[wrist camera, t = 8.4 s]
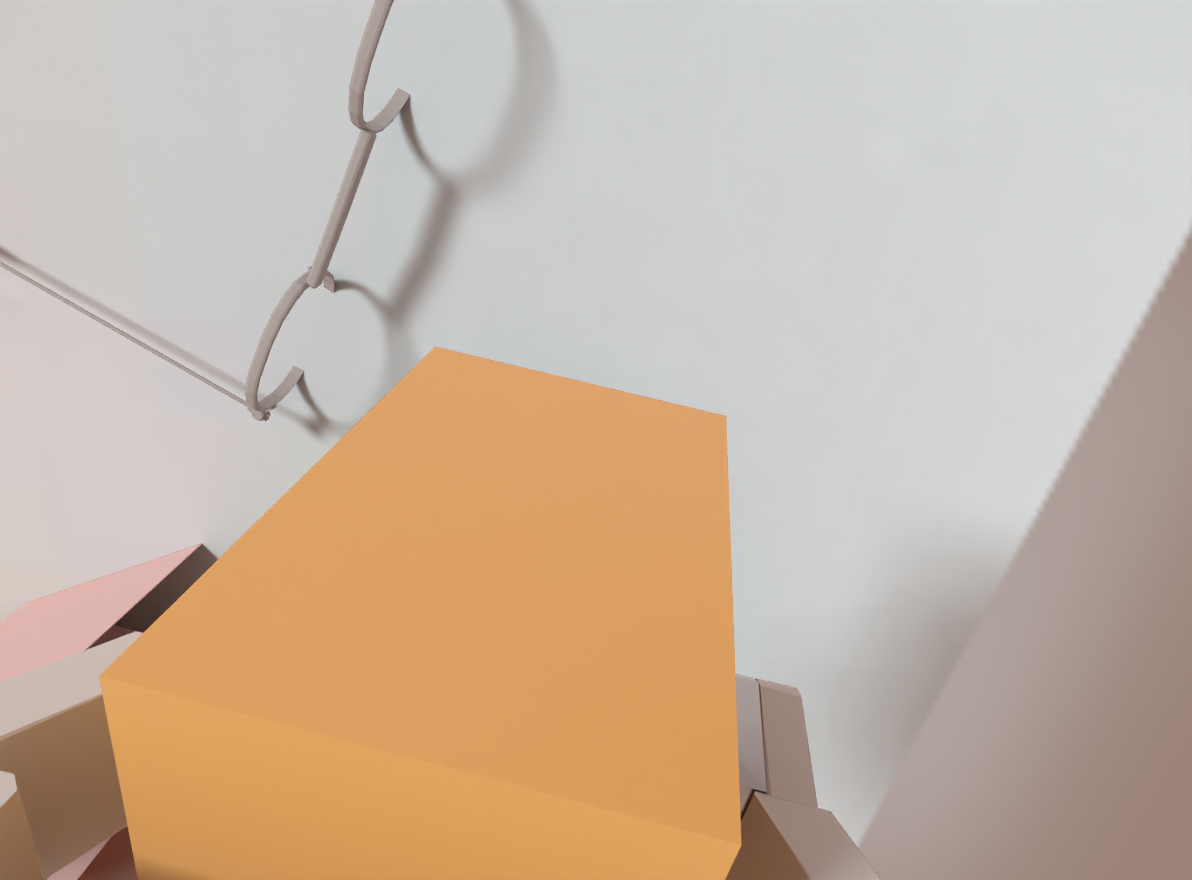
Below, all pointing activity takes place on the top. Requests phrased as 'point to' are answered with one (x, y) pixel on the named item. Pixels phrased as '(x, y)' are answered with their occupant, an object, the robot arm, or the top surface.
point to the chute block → (454, 653)
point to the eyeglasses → (330, 235)
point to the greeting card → (78, 633)
